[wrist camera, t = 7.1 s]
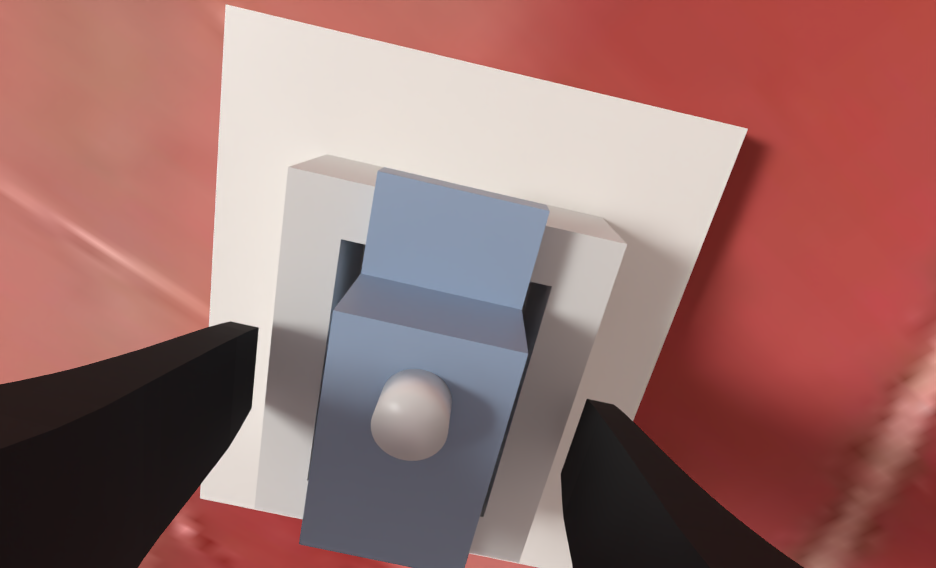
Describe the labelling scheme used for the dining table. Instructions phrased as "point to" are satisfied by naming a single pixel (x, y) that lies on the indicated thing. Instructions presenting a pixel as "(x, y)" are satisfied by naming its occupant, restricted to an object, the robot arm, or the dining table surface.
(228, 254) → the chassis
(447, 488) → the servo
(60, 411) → the robot arm
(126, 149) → the dining table surface
